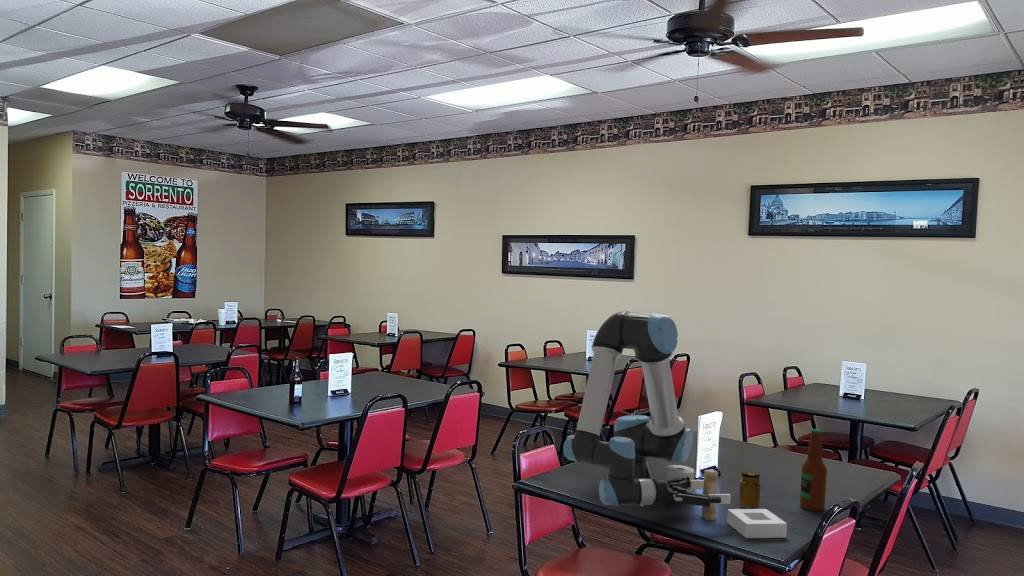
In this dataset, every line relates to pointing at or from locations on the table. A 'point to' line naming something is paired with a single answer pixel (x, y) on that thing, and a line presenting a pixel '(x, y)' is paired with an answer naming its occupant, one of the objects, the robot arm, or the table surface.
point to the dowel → (709, 488)
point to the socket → (757, 523)
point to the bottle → (813, 476)
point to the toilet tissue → (679, 473)
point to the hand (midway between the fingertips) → (720, 491)
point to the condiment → (749, 490)
